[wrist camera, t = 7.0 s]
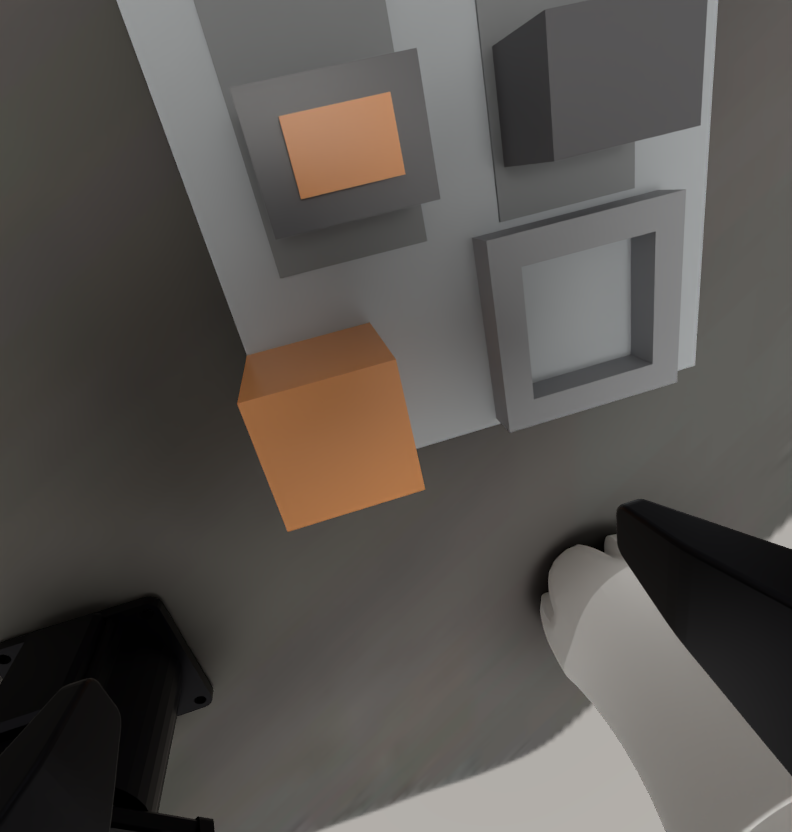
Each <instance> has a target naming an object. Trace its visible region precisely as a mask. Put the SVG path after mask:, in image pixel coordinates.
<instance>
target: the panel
mask: <svg viewBox="0 0 792 832" xmlns="http://www.w3.org/2000/svg"><path fill="white" fill-rule="evenodd" d="M117 3H118V6H119V9H120V11H121V14H122V17H123V19H124V22H125V25H126V28H127V30H128V33H129V36H130V39H131V41H132V44H133V47H134V49H135V52H136V55H137V58H138V60H139V63H140V66H141V68H142V71H143V74H144V77H145V79H146V82H147V85H148V88H149V90H150V93H151V96H152V98H153V101H154V104H155V107H156V109H157V112H158V115H159V118H160V120H161V123H162V126H163V128H164V131H165V134H166V137H167V139H168V142H169V145H170V147H171V150H172V153H173V156H174V158H175V161H176V164H177V167H178V169H179V172H180V175H181V177H182V180H183V183H184V186H185V188H186V191H187V194H188V197H189V199H190V202H191V205H192V207H193V210H194V213H195V216H196V218H197V221H198V224H199V226H200V229H201V232H202V235H203V237H204V240H205V243H206V246H207V248H208V251H209V254H210V256H211V259H212V262H213V265H214V267H215V270H216V273H217V276H218V278H219V281H220V284H221V286H222V289H223V292H224V295H225V297H226V300H227V303H228V306H229V308H230V311H231V314H232V316H233V319H234V322H235V325H236V327H237V330H238V333H239V335H240V338H241V341H242V344H243V346H244V349H245V352H246V355H251V354H254V353H258V352H262V351H265V350H269V349H273V348H277V347H280V346H284V345H288V344H291V343H295V342H299V341H303V340H306V339H310V338H314V337H317V336H321V335H325V334H328V333H332V332H336V331H340V330H343V329H347V328H351V327H354V326H358V325H362V324H366V323H369V322H370V323H371V325H372V326H373V328H374V329H375V330H376V332H377V333H378V335H379V336H380V338H381V339H382V340H383V342H384V343H385V345H386V346H387V347H388V349H389V350H390V352H391V353H392V354H393V356H394V357H395V359H396V361H397V366H398V370H399V375H400V379H401V384H402V388H403V393H404V397H405V401H406V406H407V410H408V415H409V419H410V424H411V428H412V433H413V437H414V441H415V446H416V449H418V448H421V447H424V446H428V445H431V444H434V443H438V442H441V441H444V440H448V439H451V438H454V437H458V436H461V435H464V434H468V433H471V432H474V431H478V430H481V429H484V428H488V427H491V426H494V425H498V424H502V425H503V426H504V427H505V428H506V429H507V430H508V431H509V432H510V433H511V432H514V431H517V430H520V429H524V428H527V427H530V426H534V425H537V424H540V423H544V422H547V421H550V420H554V419H557V418H560V417H563V416H567V415H570V414H573V413H577V412H580V411H583V410H587V409H590V408H593V407H597V406H600V405H603V404H607V403H610V402H613V401H616V400H620V399H623V398H626V397H630V396H633V395H636V394H640V393H643V392H646V391H650V390H653V389H656V388H659V387H663V386H666V385H669V384H673V383H676V382H677V372H678V370H681V369H685V368H688V367H691V366H695V357H696V341H697V325H698V310H699V294H700V278H701V262H702V247H703V231H704V215H705V200H706V184H707V168H708V153H709V137H710V121H711V105H712V90H713V74H714V58H715V43H716V27H717V11H718V0H117ZM413 48H417V53H418V59H419V65H420V72H421V78H422V85H423V91H424V97H425V104H426V110H427V116H428V123H429V129H430V135H431V142H432V148H433V154H434V161H435V167H436V173H437V180H438V186H439V192H440V199H439V200H435V201H431V202H427V203H423V204H419V205H415V206H411V207H407V208H403V209H399V210H395V211H391V212H387V213H382V214H378V215H374V216H370V217H366V218H362V219H358V220H354V221H350V222H346V223H342V224H338V225H334V226H330V227H326V228H322V229H318V230H314V231H310V232H306V233H301V234H297V235H293V236H289V237H285V238H281V239H277V240H276V239H275V236H274V232H273V229H272V226H271V223H270V219H269V216H268V213H267V209H266V206H265V203H264V200H263V196H262V193H261V190H260V187H259V183H258V180H257V177H256V173H255V170H254V167H253V164H252V160H251V157H250V154H249V150H248V147H247V144H246V141H245V137H244V134H243V131H242V128H241V124H240V121H239V118H238V114H237V111H236V108H235V105H234V101H233V98H232V95H231V92H230V88H229V87H234V86H239V85H244V84H248V83H253V82H258V81H262V80H267V79H272V78H276V77H281V76H286V75H290V74H295V73H300V72H305V71H309V70H314V69H319V68H323V67H328V66H333V65H337V64H342V63H347V62H352V61H356V60H361V59H366V58H370V57H375V56H380V55H384V54H389V53H394V52H398V51H403V50H408V49H413Z"/></svg>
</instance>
